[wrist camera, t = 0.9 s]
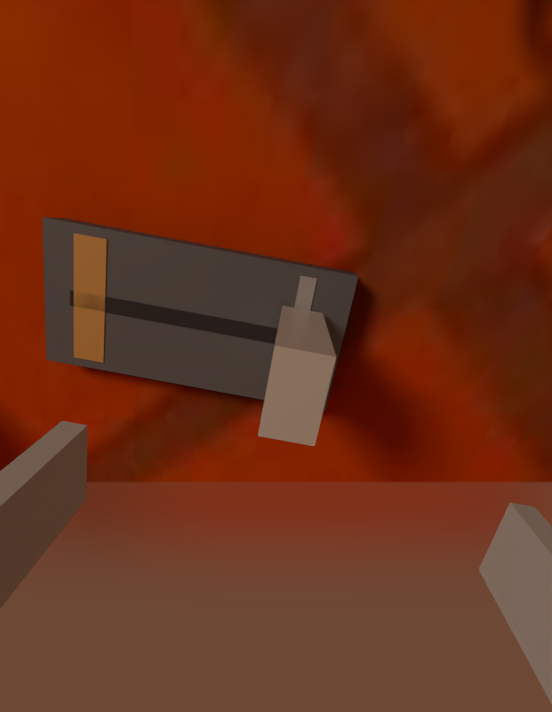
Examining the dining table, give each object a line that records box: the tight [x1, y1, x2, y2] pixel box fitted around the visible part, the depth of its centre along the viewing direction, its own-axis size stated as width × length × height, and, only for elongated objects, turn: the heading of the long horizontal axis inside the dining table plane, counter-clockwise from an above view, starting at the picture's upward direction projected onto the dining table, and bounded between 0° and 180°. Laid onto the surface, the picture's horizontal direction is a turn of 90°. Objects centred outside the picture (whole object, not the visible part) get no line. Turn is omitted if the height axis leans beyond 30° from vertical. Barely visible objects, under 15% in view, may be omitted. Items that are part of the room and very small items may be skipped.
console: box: [43, 217, 359, 411], centre depth 30 cm, size 23×11×3 cm, turn 80°
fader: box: [258, 306, 336, 446], centre depth 23 cm, size 3×5×10 cm, turn 170°
